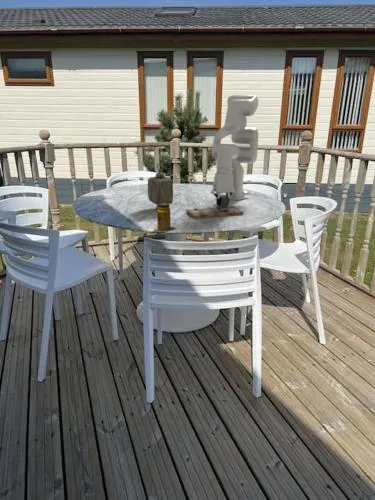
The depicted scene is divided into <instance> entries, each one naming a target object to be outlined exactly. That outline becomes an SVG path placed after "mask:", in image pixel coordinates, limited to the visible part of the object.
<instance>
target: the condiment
mask: <svg viewBox="0 0 375 500" xmlns="http://www.w3.org/2000/svg"><path fill="white" fill-rule="evenodd" d="M170 206H171V204H168V203H159V204H158V210H156V211H157V212H156V214H157V220H156V221H157V224H156V225H157V227H156V228H154V230H156V231H159V232H164V233H167V232H170V231H172V230H175V229H177V227H175V226H171V224H172V223H171V208H170Z"/></svg>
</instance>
